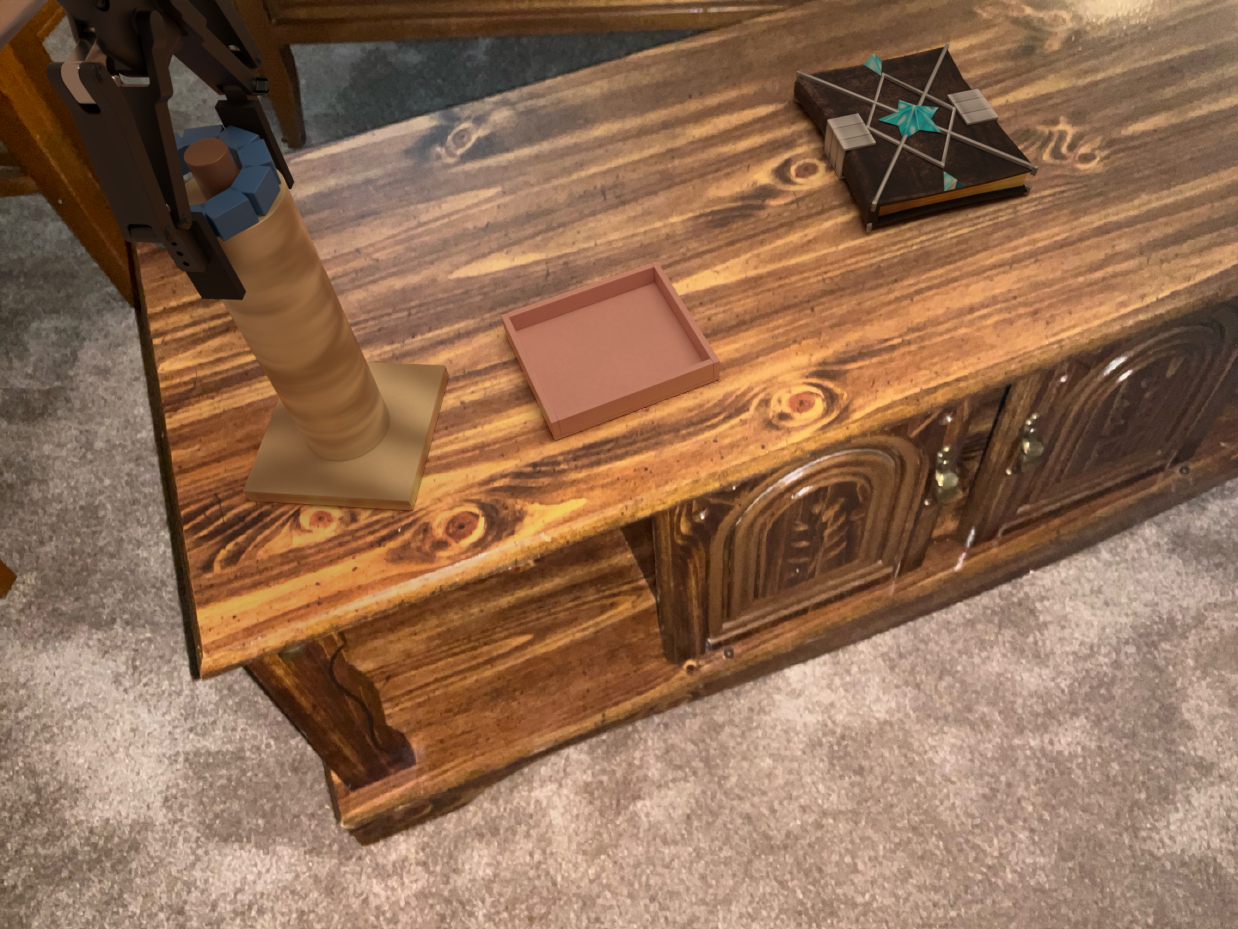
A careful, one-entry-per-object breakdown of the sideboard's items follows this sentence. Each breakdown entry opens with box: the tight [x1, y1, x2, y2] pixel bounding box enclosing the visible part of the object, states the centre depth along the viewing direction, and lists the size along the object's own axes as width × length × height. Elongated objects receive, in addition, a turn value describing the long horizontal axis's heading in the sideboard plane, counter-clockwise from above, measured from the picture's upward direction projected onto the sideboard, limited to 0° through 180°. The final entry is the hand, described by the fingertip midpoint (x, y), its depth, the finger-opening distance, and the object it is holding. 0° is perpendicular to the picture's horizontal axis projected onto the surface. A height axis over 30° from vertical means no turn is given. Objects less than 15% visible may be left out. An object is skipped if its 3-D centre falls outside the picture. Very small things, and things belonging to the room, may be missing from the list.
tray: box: [500, 260, 721, 441], centre depth 84 cm, size 15×13×2 cm
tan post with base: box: [184, 138, 450, 511], centre depth 70 cm, size 14×14×30 cm
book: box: [792, 42, 1040, 234], centre depth 95 cm, size 22×17×5 cm
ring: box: [152, 123, 281, 250], centre depth 60 cm, size 9×10×2 cm
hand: (250, 237), depth 63 cm, fingers closed on ring, 10 cm apart
